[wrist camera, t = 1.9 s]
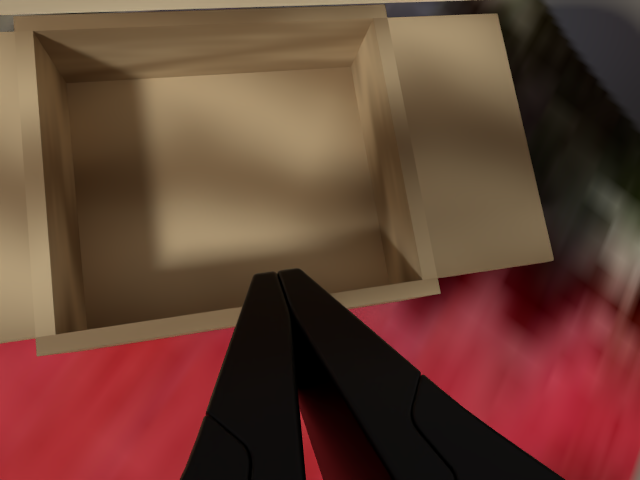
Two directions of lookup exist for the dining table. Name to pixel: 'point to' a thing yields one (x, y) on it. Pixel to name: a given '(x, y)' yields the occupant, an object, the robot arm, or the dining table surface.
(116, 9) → the flap
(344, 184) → the open box
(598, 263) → the dining table surface
